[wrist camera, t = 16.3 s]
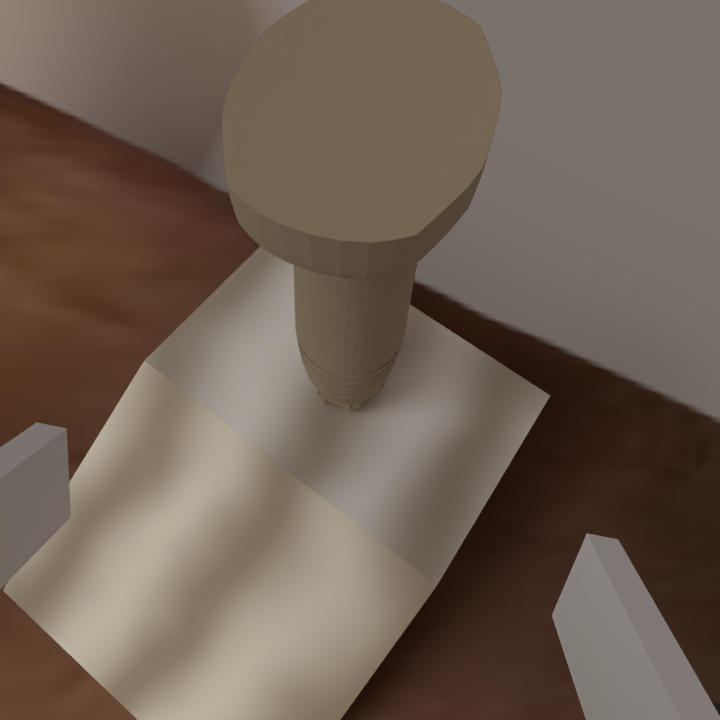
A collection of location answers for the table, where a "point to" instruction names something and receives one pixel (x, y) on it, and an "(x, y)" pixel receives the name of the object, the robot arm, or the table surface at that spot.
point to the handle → (358, 166)
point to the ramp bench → (268, 512)
